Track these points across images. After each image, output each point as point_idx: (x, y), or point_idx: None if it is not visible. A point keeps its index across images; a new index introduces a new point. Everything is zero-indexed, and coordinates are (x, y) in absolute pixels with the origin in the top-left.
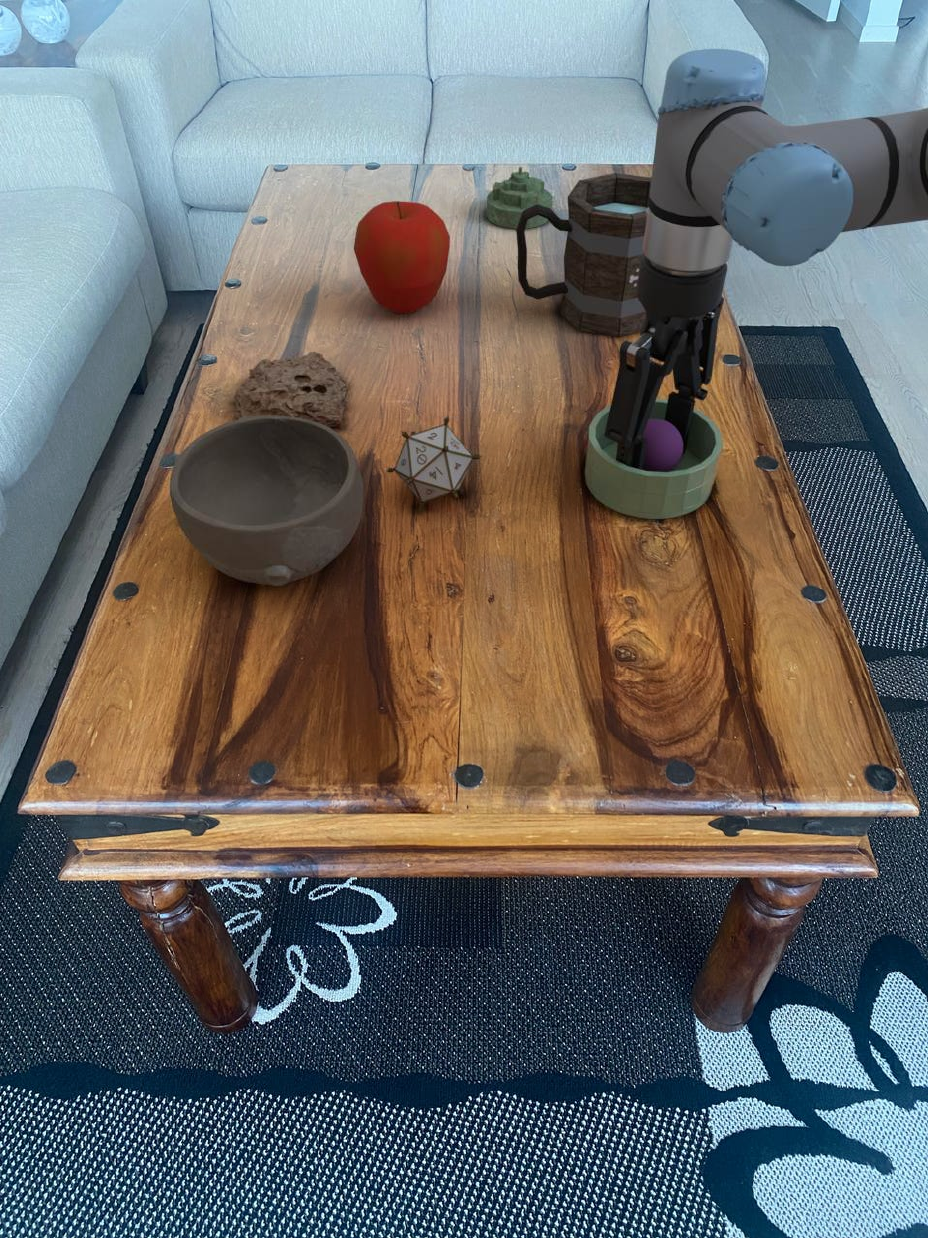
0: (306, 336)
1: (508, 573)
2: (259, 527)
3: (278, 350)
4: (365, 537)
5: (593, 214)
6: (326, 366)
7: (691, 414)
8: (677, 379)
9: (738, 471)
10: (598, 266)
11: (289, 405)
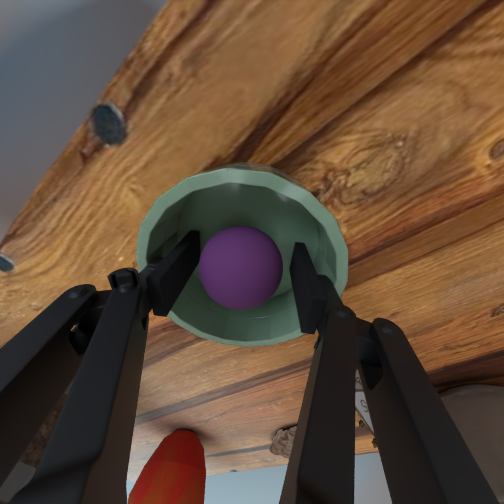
0: (249, 447)
1: (465, 284)
2: None
3: None
4: (438, 374)
5: None
6: (280, 446)
7: (164, 262)
8: (144, 339)
9: (156, 154)
10: (40, 441)
11: None
